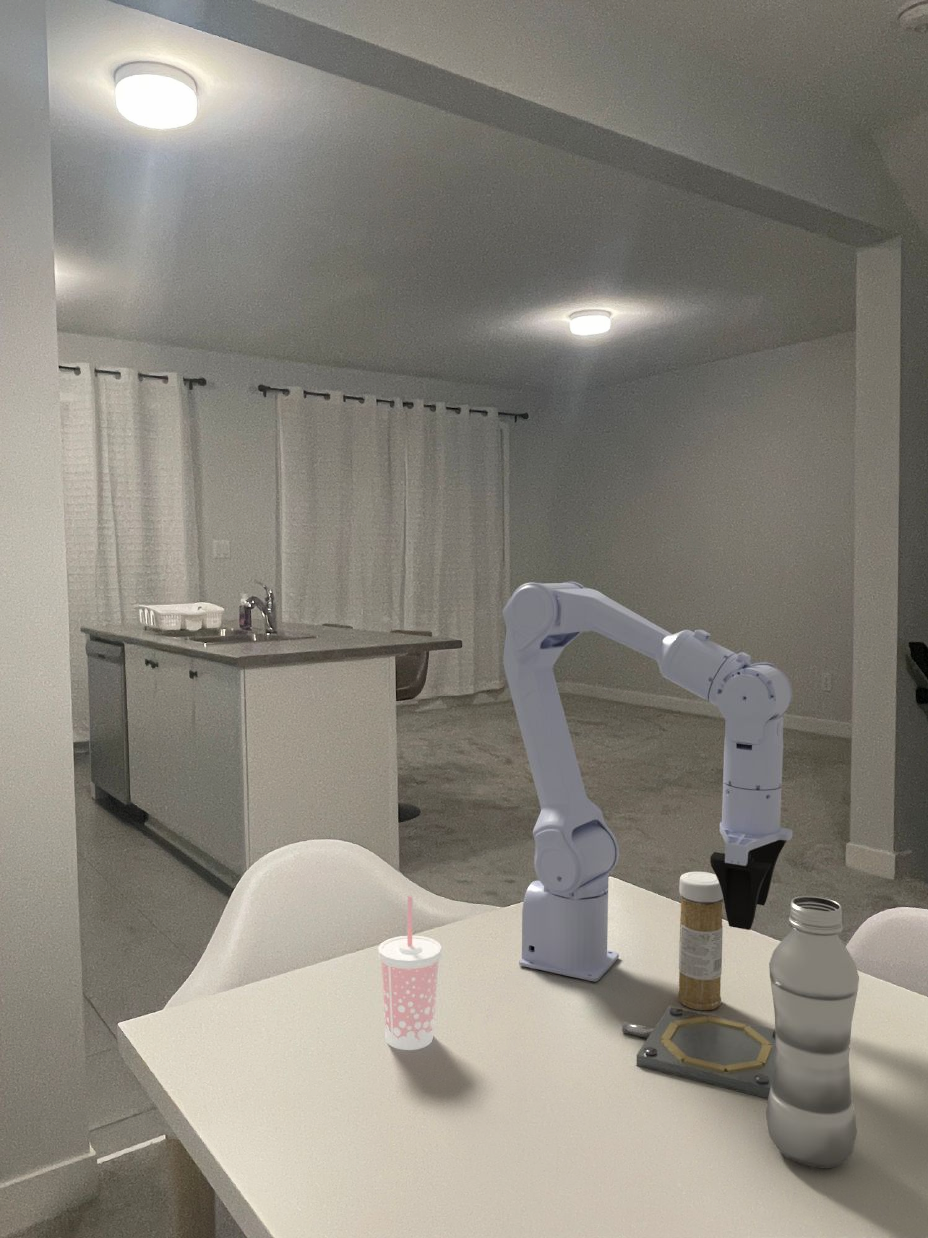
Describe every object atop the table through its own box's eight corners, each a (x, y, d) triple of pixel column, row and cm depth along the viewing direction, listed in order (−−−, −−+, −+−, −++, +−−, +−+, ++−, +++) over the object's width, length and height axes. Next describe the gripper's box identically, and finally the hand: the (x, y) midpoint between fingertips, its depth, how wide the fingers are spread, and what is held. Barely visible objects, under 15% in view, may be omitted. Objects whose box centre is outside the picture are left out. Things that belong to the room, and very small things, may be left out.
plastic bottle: (847, 1192, 71) (855, 926, 70) (754, 1161, 75) (761, 908, 73) (862, 1147, 76) (870, 900, 75) (775, 1120, 80) (782, 884, 79)
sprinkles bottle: (694, 989, 105) (697, 867, 104) (730, 1004, 101) (733, 878, 100) (668, 1001, 102) (670, 876, 101) (703, 1017, 98) (706, 887, 97)
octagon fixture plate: (605, 1057, 90) (605, 1045, 90) (640, 1009, 100) (640, 998, 100) (771, 1099, 83) (771, 1086, 83) (791, 1043, 93) (791, 1031, 93)
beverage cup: (454, 1037, 94) (455, 896, 93) (408, 1061, 89) (409, 913, 88) (410, 1017, 98) (411, 881, 97) (364, 1038, 93) (364, 896, 92)
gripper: (781, 804, 90) (775, 947, 90) (803, 774, 102) (799, 899, 103) (705, 795, 93) (700, 933, 94) (736, 767, 106) (732, 888, 106)
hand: (747, 914), depth 99 cm, fingers open, 7 cm apart
